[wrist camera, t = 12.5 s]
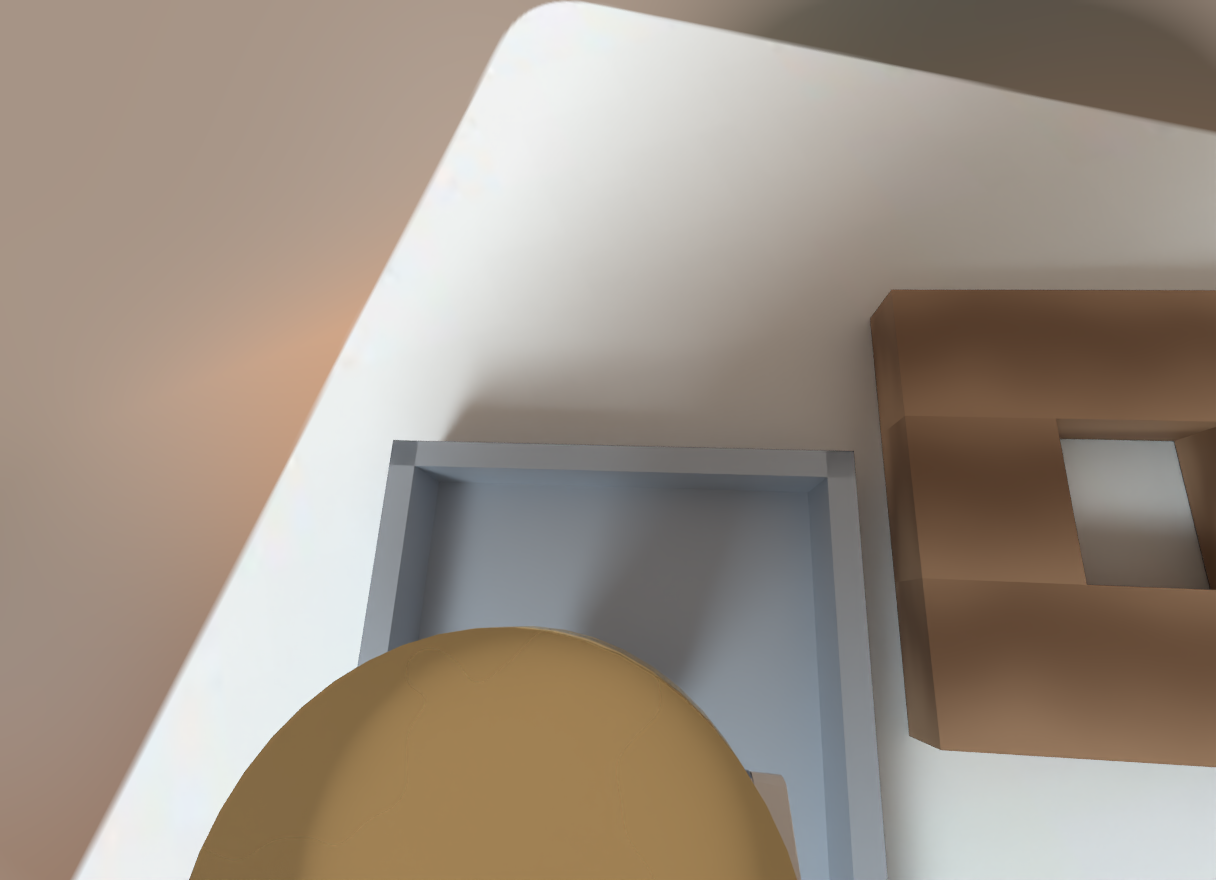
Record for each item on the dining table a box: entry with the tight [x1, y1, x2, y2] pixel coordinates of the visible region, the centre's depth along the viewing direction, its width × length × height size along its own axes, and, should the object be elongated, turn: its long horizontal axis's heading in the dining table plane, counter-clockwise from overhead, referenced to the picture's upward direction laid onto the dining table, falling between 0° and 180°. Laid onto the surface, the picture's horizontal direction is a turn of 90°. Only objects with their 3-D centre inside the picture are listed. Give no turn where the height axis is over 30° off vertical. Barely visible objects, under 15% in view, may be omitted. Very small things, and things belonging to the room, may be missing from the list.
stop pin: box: [189, 626, 797, 880], centre depth 10 cm, size 6×6×11 cm
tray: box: [358, 440, 888, 880], centre depth 17 cm, size 16×14×3 cm
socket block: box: [870, 290, 1216, 767], centre depth 18 cm, size 14×14×2 cm
